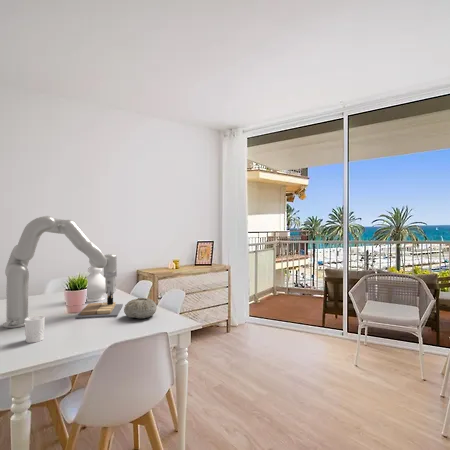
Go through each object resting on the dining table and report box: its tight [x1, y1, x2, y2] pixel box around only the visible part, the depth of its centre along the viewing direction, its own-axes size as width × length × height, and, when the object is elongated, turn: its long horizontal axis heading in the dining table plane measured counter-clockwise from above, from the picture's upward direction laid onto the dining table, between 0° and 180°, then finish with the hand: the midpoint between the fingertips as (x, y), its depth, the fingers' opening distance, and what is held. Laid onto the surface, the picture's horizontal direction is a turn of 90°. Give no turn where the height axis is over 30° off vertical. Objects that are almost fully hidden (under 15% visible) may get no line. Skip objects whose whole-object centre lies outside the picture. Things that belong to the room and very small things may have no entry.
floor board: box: [75, 302, 123, 320], centre depth 191 cm, size 26×22×3 cm
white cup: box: [24, 315, 46, 344], centre depth 143 cm, size 8×8×10 cm
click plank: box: [97, 301, 117, 314], centre depth 192 cm, size 20×8×2 cm, turn 11°
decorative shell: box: [123, 297, 157, 319], centre depth 180 cm, size 18×18×10 cm
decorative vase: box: [86, 263, 106, 303], centre depth 223 cm, size 18×18×25 cm
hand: (110, 304), depth 197 cm, fingers closed
